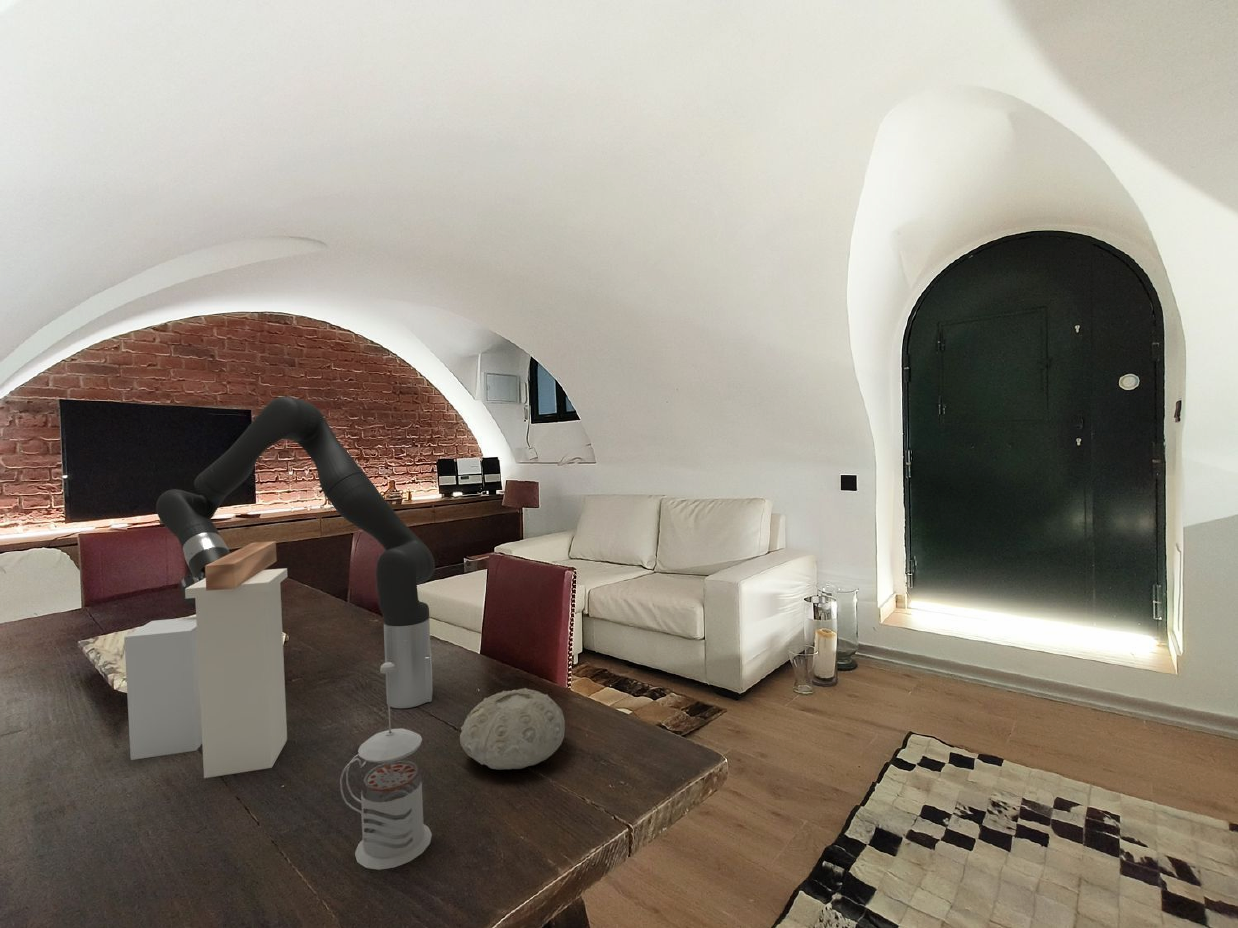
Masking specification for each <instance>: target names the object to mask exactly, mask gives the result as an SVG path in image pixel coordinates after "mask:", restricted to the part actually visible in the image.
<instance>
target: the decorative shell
mask: <svg viewBox="0 0 1238 928" xmlns="http://www.w3.org/2000/svg"><path fill="white" fill-rule="evenodd" d="M565 727H566V726H565V716H564V713H563V710H562V708H560V706H559V705H558V703H556V701H554V700H553V698H552V697H550V696H549V695H548V694H547V693H546V694H544V693H542V692H540V691H537V690H535V689H529V688H527V687H524V688H519V689H512V690H503V691H501V692H497V693H496V694H493V695H490V696H489V697H484V698H483V701H480V702H479V703H478V704H477V705H476V706H475V707H473V708H472V710H470V712H469V714H467V715H466V718H465V719H464V722H463V725H462V726H461V727H460V730H461V732H460V735H459V742H460V746H461V747H462V749H463V751H464V752H465V754H466V755H467V756H469V757H470V758H472V759H473V760H474V761H476V762H478V763H479V764H480V765H481V766H483V765H485V766H487V767H488V768H490V769H492V770H512V769H513V770H520V769H525V768H526V767H531V766H535V765H538V764H539V763H541V762H543V761H546V760H547V759H549V757H551V756H553V754H554V753H555V752H556V751H557V750H558V749H559V747H560V746H561V745H562V743H563V740H564V738H565V731H566V729H565Z"/></svg>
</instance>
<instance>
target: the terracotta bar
mask: <svg viewBox="0 0 1238 928" xmlns="http://www.w3.org/2000/svg"><path fill="white" fill-rule="evenodd" d="M277 559H278V558H277V541H275V540H274V541H272V540H271V541H260V542H259V541H258V542H251V543H249V544H247V545H245V546H243V547H241V548H239V549H237V550H235V551H233V552H230V554H229V555H226V556H224V557H222V558H220V559H218V560H216V561H214V562H212V563H210V564H208V565H206V566H205V575H206V591H210V590H223V589H235V588H237V587H238V586H240V585H241V584H243V583H244V582H246V581H247V580H249V579H250V578H252V577H253V576H255V575H256V574H258V573H259V572H261V571H262V570H266V569H267V568H269V567H271V566H272V565H273V564H274V563H276V562H277Z"/></svg>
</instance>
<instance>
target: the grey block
mask: <svg viewBox="0 0 1238 928" xmlns="http://www.w3.org/2000/svg"><path fill="white" fill-rule="evenodd" d="M123 639H124V655H125V658H124V659H125V674H126V675H125V677H126V692H127V693H126V694H127V709H128V711H127V713H128V714H127V715H128V732H129V749H130V750H129V751H130V761H135V760H139V759H140V760H141V759H147V758H148V759H149V758H154V757H155V758H156V757H160V756H169V755H176V754H183V753H190V752H195V751H198V749H199V748H200V747H201V746H202V725H201V705H200V684H199V664H198V643H197V623H196V616H192V617H181V618H170V619H158V620H151V621H150V622H147V623H146V624H144V625H142V626H141V627H139V628H137V629H136V630H134V631H132V632H131V633H129V634H127V635H125V636H124V638H123Z"/></svg>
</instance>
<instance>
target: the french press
mask: <svg viewBox="0 0 1238 928" xmlns="http://www.w3.org/2000/svg"><path fill="white" fill-rule="evenodd" d="M394 671H395V666H394V664H392V663H391V662H386V663H385V662H384V663H382V664H381V665H380V669H379V673H380V674H384V675H386V674H387V685H388V705H387V706H388V707H387V709H388V729H387V730H383V731H380V732H376V733H375V734H374V735H372V736H371V737H369V738H368V739H366V740H365V741H364V742H363V743H361V744H360V746H359V748H358V750H357V752H358V754H356V755H355V756H353V758H352V759H351V760H350V761H349V762H348V763H347V764H346V765H345V767H344V768H343V770H342V772H341V774H340V779H339V789H340V794H341V797H342V799H343V801H344V803H345V804H346V805H347V806H348V807H349V808H350V809H351V810H353V811H355V812H357V813H359V814H360V817H361V820H360V821H361V833H362V840H361V841H360V842H358V845H357V847H356V849H355V853H354V855H355V858H356V862H357V863H358V864H360V865H361V866H362V867H364V868H366V869H372V870H386V869H391V868H392V869H393V868H397V867H399V866H402V865H404V864H407V863H410V862H412V861H414V859H415V858H418V856H421V855H422V854H423V853H424V851H425V850H426V849H427V848H428V846H429V845H430V844H431V841H432V836H433V833H432V832H431V829H430V828H429V826H427V825H426V824H424V806H423V805H424V804H423V803H424V802H423V782H422V776H421V774H420V767H419V765H418V763H416V762H413V761H412V760H406V759H405V758H406V757H408V756H410V755H413V754H414V753H415V752H416V751H417V750H418V749H419V748H420V747H421V744H422V742H423V738H422V736H421V735H420V734H419V733H417V732H414V731H412V730H409V729H407V728H402V727H401V728H392V727H391V726H392V723H391V707H390V694H389V673H392V672H394ZM358 757H360V758H361V759H362V760H364V762H363V763H362V760H361V759H360V758H358ZM403 759H405V760H403ZM356 761H358V764H359V767H360V768H363V767H364V766H365V765H366V764H367V762H368V763H378V764H379V765H377V766H374V767H373V768H372V769H370V770H368V772H367V773H366V774H364V777H363V779H362V783H363V786H364V788H365V797H364V788H362V789H361V791H360V799H361V800H360V799H359V798H358V797H357V796H355V795H354V793H353V792H352V790H351V787H350V784H349V770H350V767H351V765H352V764H353V763H354V762H356ZM344 774H346V776H345V778H346V780H345V783H346V787H347V790H348V791H349V794H350V797H352V798H353V799H354V800H355V801H356V802H358V803H360V804H361V809H358V808H357V807H354V806H353V805H352V804H351V803H349V801H348V800H347V798H346V797H345V795H344V794H345V793H344V790H343V778H344ZM410 783H411V784H413V785H414V786H415V787H416V788H414V787H413V786H411V785H410ZM403 787H404V788H405V789H408V790H409V791H410V793H409V792H407V791H406V790H398V789H401V788H403ZM385 792H389V793H386V794H385V795H384V796H383V797H381V795H383V794H384V793H385ZM394 796H403V797H400V798H395V799H393V800H389V801H387V800H388V799H390V798H392V797H394ZM365 810H366V812H365ZM410 810H411V811H410ZM382 813H383V814H382ZM365 820H366V821H365ZM366 829H367V831H366Z"/></svg>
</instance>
